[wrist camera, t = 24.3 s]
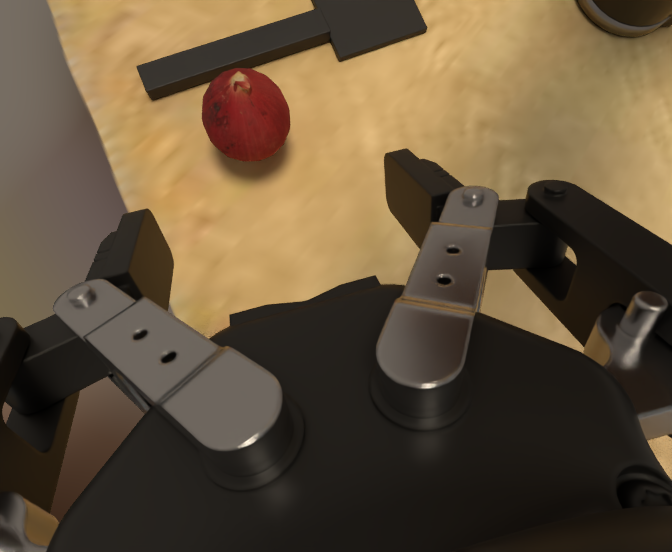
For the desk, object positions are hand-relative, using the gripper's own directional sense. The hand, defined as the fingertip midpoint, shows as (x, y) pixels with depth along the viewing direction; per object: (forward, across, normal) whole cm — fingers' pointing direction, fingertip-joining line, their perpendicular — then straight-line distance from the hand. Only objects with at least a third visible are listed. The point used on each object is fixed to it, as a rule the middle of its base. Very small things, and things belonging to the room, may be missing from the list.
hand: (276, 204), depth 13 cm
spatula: (+24, -4, -2) cm, 24 cm away
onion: (+19, 0, +4) cm, 19 cm away
